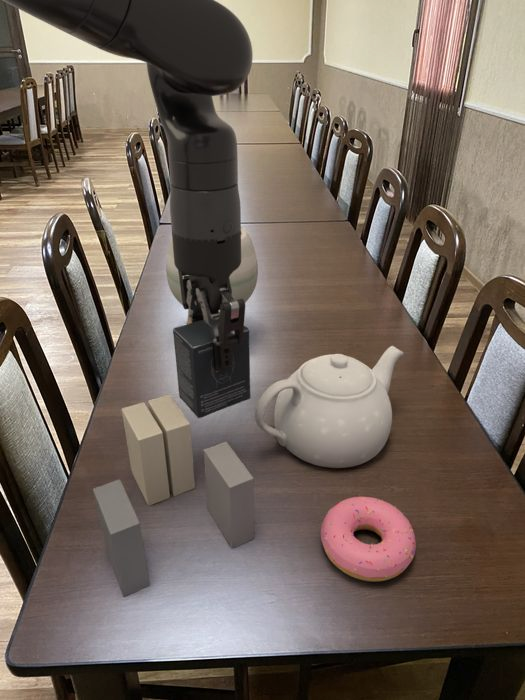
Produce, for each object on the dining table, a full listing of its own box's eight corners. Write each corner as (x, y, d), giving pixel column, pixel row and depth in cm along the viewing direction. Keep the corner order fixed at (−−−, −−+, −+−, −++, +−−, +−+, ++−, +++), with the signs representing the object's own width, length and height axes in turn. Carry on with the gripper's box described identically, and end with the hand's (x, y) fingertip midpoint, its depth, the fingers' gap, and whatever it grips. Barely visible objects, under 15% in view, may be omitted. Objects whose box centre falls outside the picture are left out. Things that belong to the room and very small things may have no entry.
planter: (158, 359, 99) (145, 242, 87) (194, 320, 112) (188, 214, 100) (240, 375, 95) (238, 255, 83) (268, 332, 108) (270, 223, 96)
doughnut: (315, 581, 60) (317, 556, 58) (323, 506, 69) (325, 482, 67) (416, 596, 58) (422, 572, 56) (410, 518, 67) (415, 494, 65)
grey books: (123, 597, 58) (110, 534, 53) (106, 549, 63) (92, 488, 58) (254, 538, 65) (253, 478, 59) (228, 500, 70) (226, 441, 65)
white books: (148, 506, 69) (138, 440, 63) (131, 472, 74) (121, 408, 68) (195, 488, 72) (189, 423, 66) (176, 456, 77) (169, 394, 71)
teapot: (283, 390, 91) (285, 318, 84) (394, 408, 87) (406, 334, 80) (253, 464, 75) (252, 385, 68) (386, 490, 71) (400, 409, 64)
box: (229, 379, 74) (227, 311, 69) (251, 399, 70) (251, 329, 65) (177, 397, 71) (171, 326, 65) (197, 420, 66) (192, 347, 61)
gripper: (151, 212, 62) (163, 338, 71) (200, 252, 51) (208, 394, 60) (210, 203, 65) (215, 325, 74) (268, 239, 54) (266, 377, 63)
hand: (212, 356), depth 67 cm, fingers closed on box, 5 cm apart
